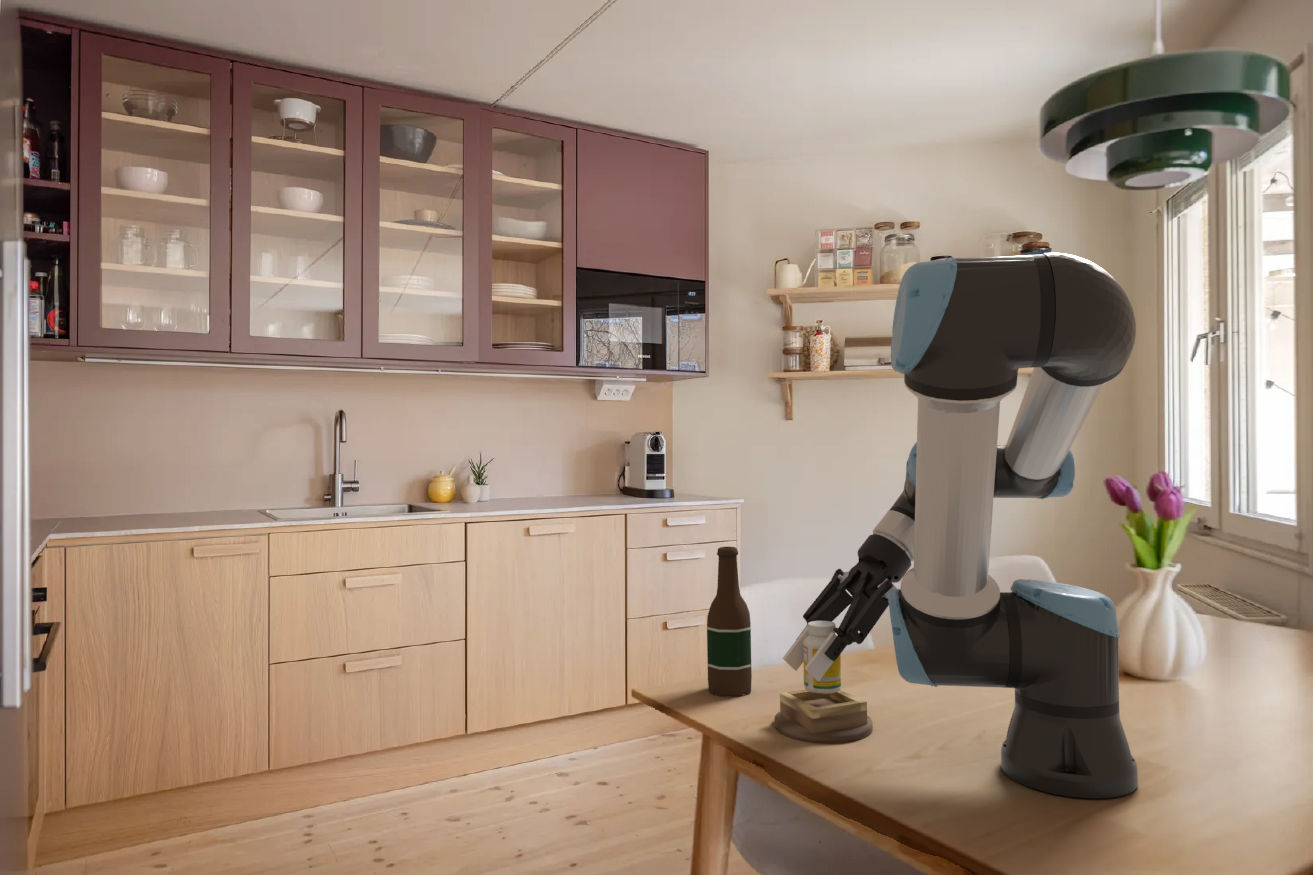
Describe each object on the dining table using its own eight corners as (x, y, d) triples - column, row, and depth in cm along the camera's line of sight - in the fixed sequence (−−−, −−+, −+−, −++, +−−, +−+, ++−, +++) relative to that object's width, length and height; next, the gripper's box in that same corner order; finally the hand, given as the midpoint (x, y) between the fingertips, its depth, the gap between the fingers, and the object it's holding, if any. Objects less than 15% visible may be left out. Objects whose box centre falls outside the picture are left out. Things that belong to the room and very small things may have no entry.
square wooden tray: (892, 734, 122) (892, 704, 122) (807, 748, 116) (806, 717, 116) (836, 706, 135) (836, 679, 135) (757, 718, 129) (756, 690, 129)
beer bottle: (716, 699, 140) (713, 551, 140) (700, 686, 147) (698, 546, 147) (760, 694, 142) (757, 548, 142) (743, 682, 149) (740, 543, 149)
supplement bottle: (796, 688, 126) (794, 623, 126) (820, 681, 130) (818, 617, 130) (825, 696, 122) (823, 628, 122) (849, 689, 126) (847, 623, 126)
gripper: (947, 572, 123) (853, 703, 117) (870, 557, 140) (784, 670, 134) (916, 537, 121) (819, 668, 115) (841, 526, 138) (753, 639, 132)
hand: (800, 669), depth 125 cm, fingers closed on supplement bottle, 5 cm apart
